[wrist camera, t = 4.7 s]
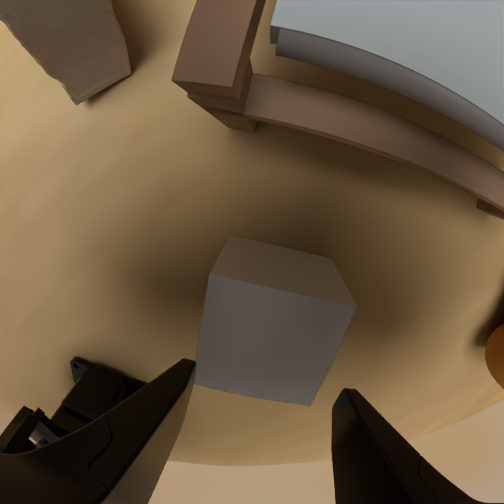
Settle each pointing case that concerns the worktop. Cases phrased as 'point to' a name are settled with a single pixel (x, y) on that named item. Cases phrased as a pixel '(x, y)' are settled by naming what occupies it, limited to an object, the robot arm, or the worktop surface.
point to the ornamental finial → (496, 355)
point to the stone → (271, 322)
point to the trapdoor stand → (312, 103)
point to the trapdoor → (408, 51)
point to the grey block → (71, 41)
